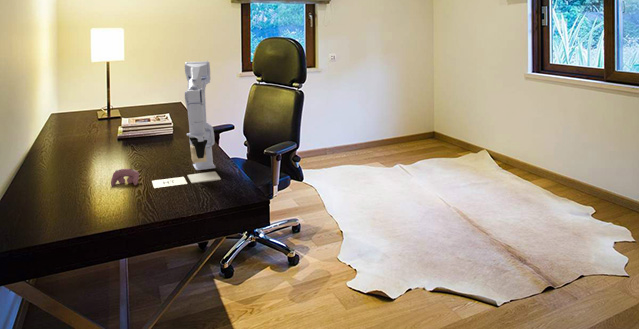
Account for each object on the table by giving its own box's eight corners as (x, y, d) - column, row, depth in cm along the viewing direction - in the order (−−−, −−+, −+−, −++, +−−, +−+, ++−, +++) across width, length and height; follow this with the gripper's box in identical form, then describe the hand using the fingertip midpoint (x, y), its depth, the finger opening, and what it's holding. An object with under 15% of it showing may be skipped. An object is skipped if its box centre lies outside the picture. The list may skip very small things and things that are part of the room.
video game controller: (140, 187, 192) (140, 169, 193) (136, 185, 187) (136, 166, 188) (113, 188, 191) (114, 170, 192) (109, 186, 187) (110, 167, 188)
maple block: (191, 159, 194) (190, 144, 193) (204, 158, 196) (203, 143, 195) (193, 163, 190) (191, 147, 188) (206, 161, 192) (205, 146, 190)
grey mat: (187, 176, 198) (187, 174, 198) (215, 172, 202) (215, 171, 202) (191, 183, 188) (191, 182, 188) (220, 180, 192) (220, 178, 192)
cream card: (151, 181, 193) (151, 180, 193) (183, 177, 197) (183, 176, 197) (154, 188, 184) (154, 187, 184) (187, 184, 188) (187, 183, 188)
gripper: (183, 119, 194) (186, 153, 198) (188, 125, 181) (191, 162, 185) (201, 117, 197) (204, 151, 200) (207, 123, 184) (210, 159, 187)
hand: (199, 156), depth 193 cm, fingers closed on maple block, 5 cm apart
